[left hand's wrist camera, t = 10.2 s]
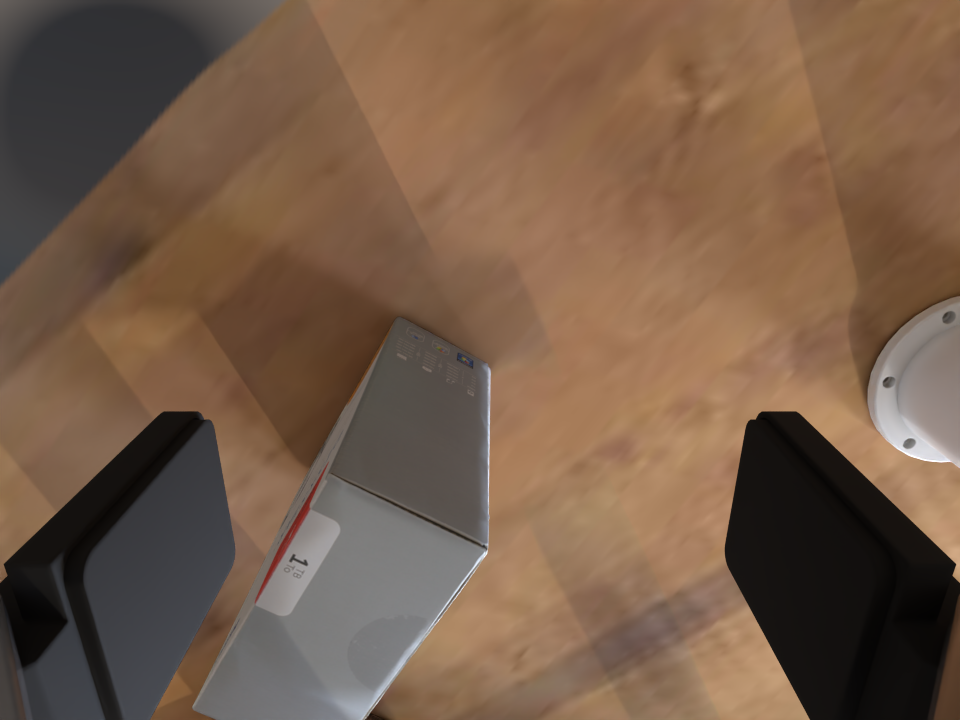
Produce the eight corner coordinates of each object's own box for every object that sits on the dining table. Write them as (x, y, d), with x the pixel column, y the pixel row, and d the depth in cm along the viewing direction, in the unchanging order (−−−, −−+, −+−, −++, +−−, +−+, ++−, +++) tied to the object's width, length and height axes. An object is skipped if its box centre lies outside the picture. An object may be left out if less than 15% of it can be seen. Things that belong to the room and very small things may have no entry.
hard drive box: (396, 310, 43) (332, 466, 24) (492, 364, 44) (502, 549, 26) (300, 479, 48) (186, 715, 29) (389, 522, 49) (335, 773, 31)
